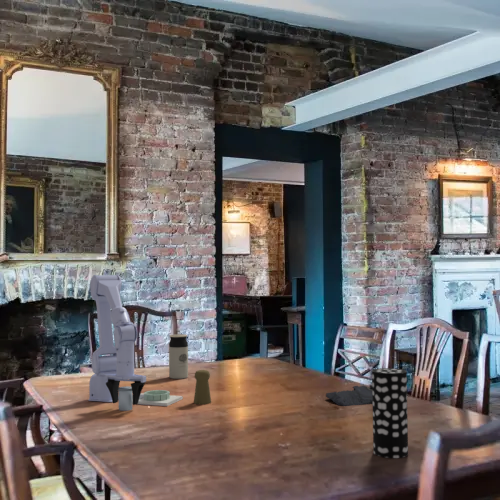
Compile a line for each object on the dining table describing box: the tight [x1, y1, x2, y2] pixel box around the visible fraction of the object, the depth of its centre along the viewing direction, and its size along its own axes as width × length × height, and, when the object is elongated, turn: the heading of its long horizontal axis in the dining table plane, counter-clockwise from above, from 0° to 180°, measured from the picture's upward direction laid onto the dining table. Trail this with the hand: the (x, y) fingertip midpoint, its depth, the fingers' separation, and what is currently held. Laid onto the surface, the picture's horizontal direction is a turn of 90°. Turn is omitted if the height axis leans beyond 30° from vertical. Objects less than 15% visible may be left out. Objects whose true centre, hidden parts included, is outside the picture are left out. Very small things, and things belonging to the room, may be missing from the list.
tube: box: [118, 386, 133, 412], centre depth 199 cm, size 5×5×7 cm
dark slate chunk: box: [325, 384, 373, 407], centre depth 210 cm, size 15×22×5 cm
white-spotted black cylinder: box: [371, 367, 409, 459], centre depth 149 cm, size 8×8×20 cm
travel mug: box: [168, 333, 189, 380], centre depth 258 cm, size 8×8×18 cm
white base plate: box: [132, 389, 184, 407], centre depth 211 cm, size 18×12×3 cm, turn 70°
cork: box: [193, 369, 212, 405], centre depth 208 cm, size 6×6×11 cm
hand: (125, 403), depth 199 cm, fingers open, 7 cm apart
